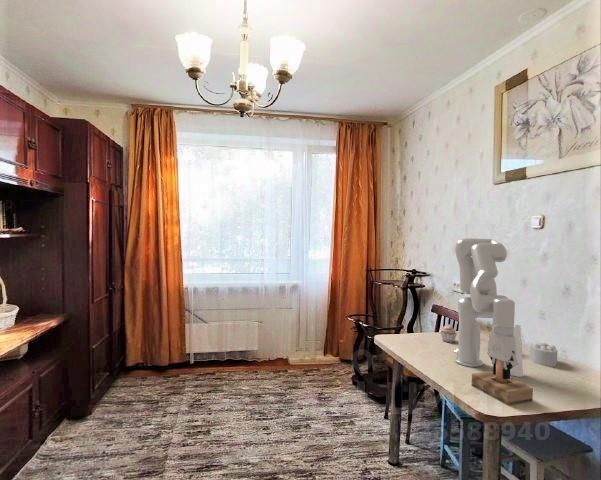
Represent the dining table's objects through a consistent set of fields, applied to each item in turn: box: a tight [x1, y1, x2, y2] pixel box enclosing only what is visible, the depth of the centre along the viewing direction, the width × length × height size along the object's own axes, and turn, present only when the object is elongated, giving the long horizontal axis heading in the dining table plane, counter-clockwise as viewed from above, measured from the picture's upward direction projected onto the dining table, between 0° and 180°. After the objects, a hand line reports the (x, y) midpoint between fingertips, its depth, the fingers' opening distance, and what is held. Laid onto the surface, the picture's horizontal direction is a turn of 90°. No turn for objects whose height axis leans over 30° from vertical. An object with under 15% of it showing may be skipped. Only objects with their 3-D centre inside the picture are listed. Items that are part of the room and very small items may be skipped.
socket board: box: [470, 370, 534, 406], centre depth 150 cm, size 18×12×5 cm, turn 18°
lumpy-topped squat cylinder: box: [529, 342, 558, 368], centre depth 188 cm, size 10×13×9 cm
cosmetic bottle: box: [510, 324, 525, 378], centre depth 170 cm, size 6×6×22 cm
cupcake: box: [439, 323, 458, 343], centre depth 221 cm, size 9×9×10 cm
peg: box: [496, 359, 508, 384], centre depth 150 cm, size 4×4×12 cm
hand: (501, 376), depth 150 cm, fingers closed on peg, 4 cm apart
